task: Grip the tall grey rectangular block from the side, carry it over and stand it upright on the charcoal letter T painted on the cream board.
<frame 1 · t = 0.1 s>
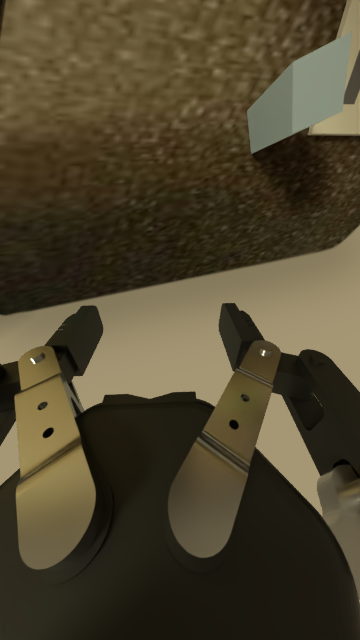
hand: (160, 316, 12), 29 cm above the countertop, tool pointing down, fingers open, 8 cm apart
grey rectangular block: (265, 125, 27), on the countertop
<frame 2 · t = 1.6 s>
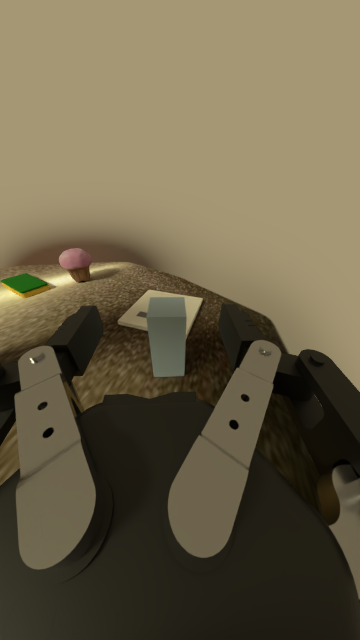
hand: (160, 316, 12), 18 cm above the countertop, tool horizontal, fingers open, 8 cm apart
grey rectangular block: (169, 364, 31), on the countertop
dish sponge: (27, 289, 55), on the countertop
cupcake: (82, 280, 59), on the countertop
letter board: (164, 311, 44), on the countertop
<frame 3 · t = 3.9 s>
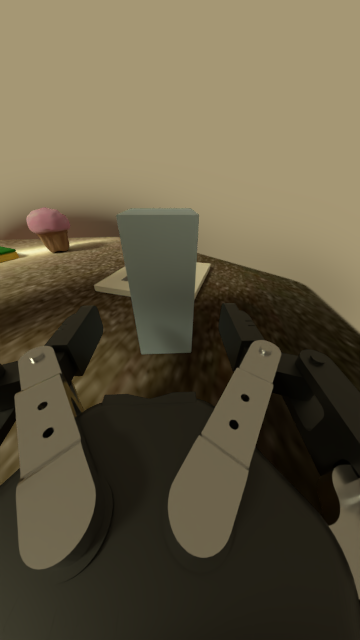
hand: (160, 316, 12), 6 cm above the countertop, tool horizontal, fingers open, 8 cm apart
grey rectangular block: (166, 336, 20), on the countertop
cupcake: (60, 251, 48), on the countertop
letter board: (160, 278, 33), on the countertop
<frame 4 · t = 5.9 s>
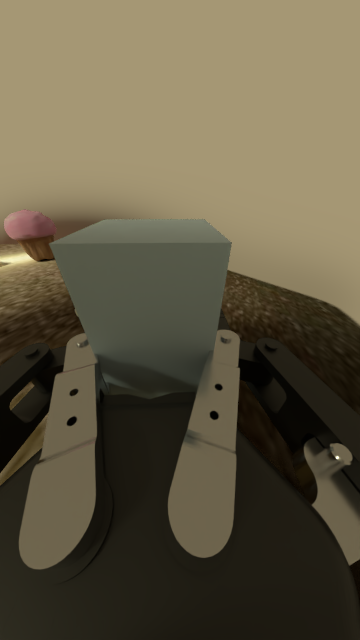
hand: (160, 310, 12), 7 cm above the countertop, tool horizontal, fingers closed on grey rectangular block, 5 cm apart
grey rectangular block: (164, 397, 14), on the countertop, touching gripper
cupcake: (45, 259, 42), on the countertop
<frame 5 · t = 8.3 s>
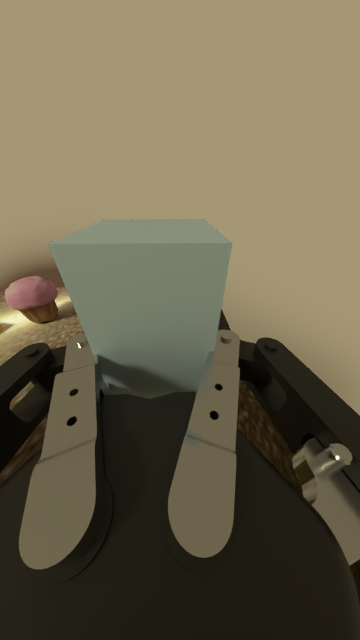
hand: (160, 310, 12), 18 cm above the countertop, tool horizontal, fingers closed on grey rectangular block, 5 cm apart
grey rectangular block: (164, 398, 14), point 11 cm above the countertop, touching gripper
cupcake: (46, 319, 42), on the countertop
when the fingers open (9 cm above the countertop, at t = 11.0 s): grey rectangular block drops 1 cm, resting on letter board.
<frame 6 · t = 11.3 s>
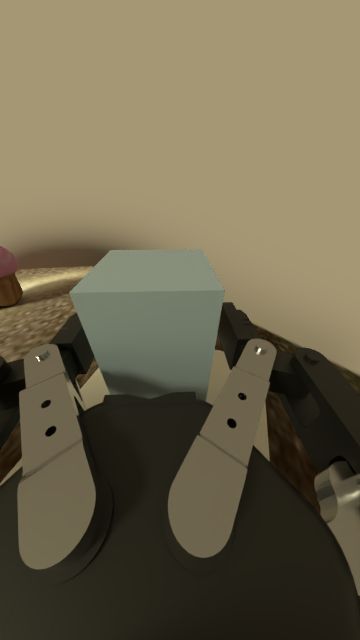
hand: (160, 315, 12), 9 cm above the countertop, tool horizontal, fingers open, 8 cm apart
grey rectangular block: (165, 407, 15), point 1 cm above the countertop, touching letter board
cupcake: (5, 304, 30), on the countertop
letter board: (165, 413, 15), on the countertop
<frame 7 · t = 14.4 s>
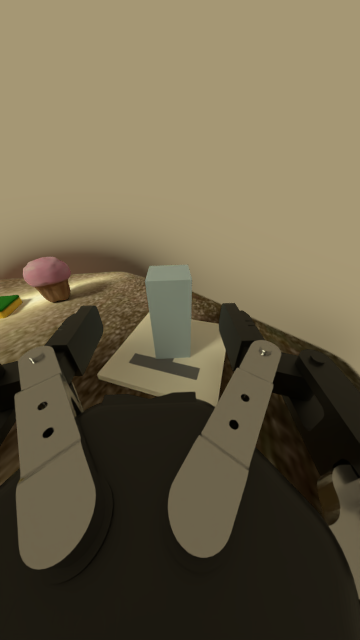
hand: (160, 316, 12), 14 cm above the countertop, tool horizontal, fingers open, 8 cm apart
grey rectangular block: (172, 346, 28), point 1 cm above the countertop, touching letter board
cupcake: (60, 299, 44), on the countertop
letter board: (173, 351, 29), on the countertop
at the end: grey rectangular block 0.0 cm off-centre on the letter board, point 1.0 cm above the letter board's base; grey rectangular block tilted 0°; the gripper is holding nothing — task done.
